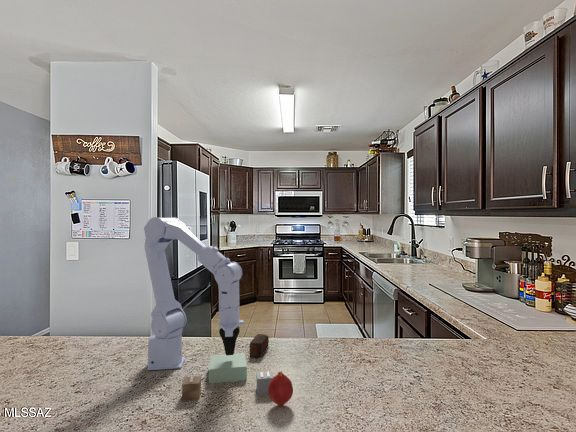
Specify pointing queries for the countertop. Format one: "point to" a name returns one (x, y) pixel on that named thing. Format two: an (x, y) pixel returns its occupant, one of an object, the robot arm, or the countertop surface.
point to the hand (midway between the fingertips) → (229, 354)
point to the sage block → (227, 368)
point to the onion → (280, 389)
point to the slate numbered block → (263, 382)
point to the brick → (258, 345)
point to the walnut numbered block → (191, 388)
